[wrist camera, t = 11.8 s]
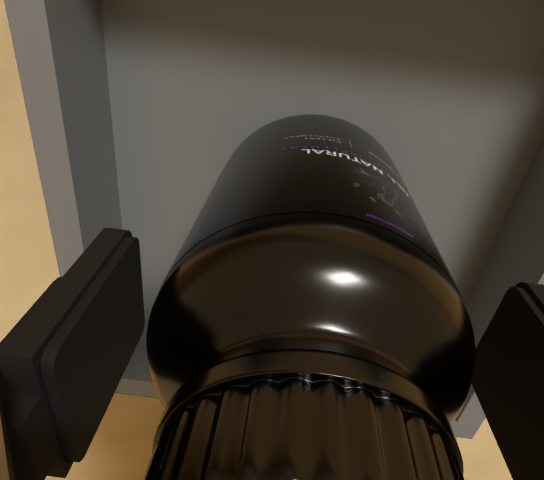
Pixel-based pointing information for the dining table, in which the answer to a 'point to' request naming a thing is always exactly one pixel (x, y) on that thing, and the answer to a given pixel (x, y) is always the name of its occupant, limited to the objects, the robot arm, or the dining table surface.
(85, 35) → the tray
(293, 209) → the supplement bottle
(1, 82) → the dining table surface
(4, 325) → the dining table surface
